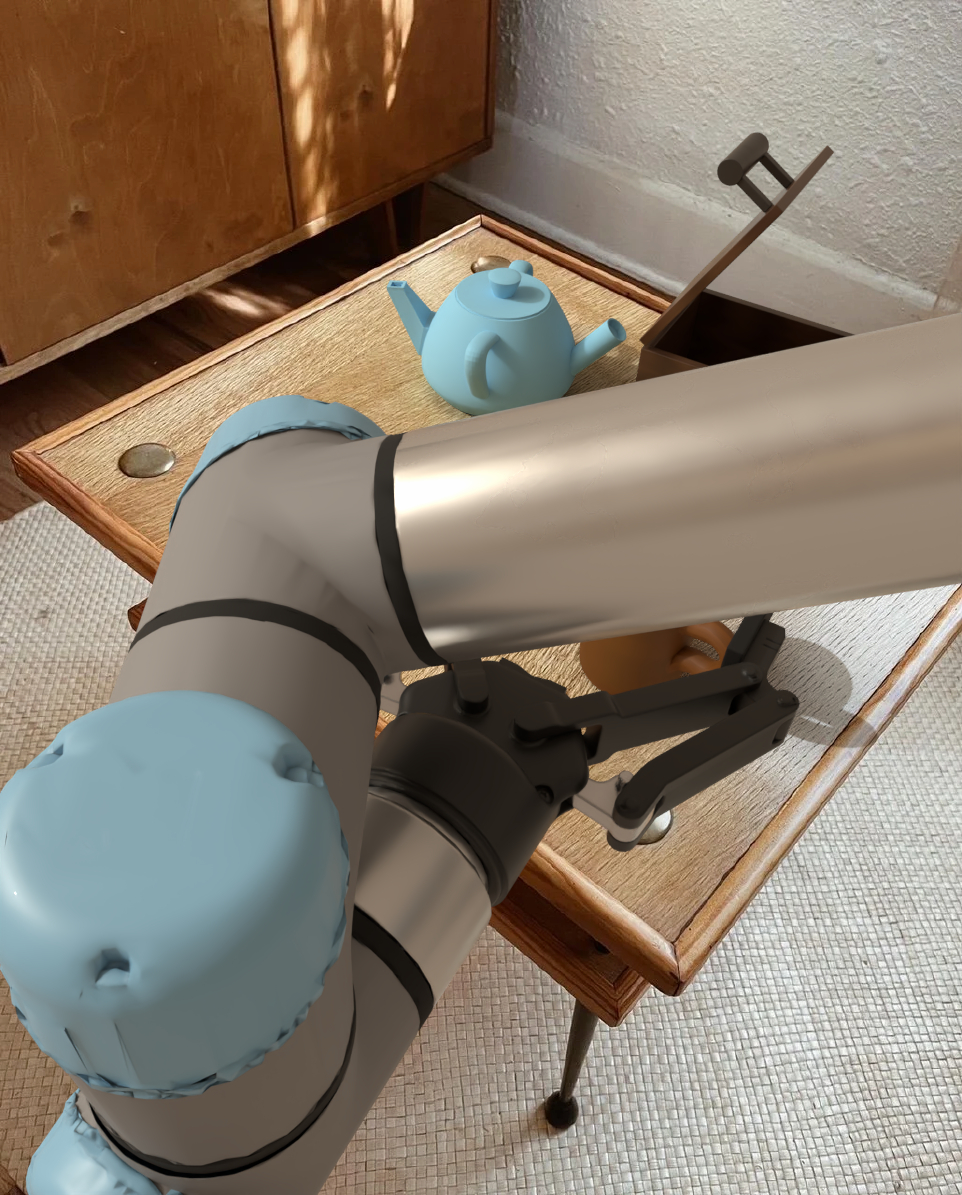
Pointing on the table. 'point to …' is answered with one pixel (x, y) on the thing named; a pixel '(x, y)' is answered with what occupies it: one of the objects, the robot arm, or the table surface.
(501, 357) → the teapot
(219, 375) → the table surface
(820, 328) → the chest
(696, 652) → the mug
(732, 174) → the lid
